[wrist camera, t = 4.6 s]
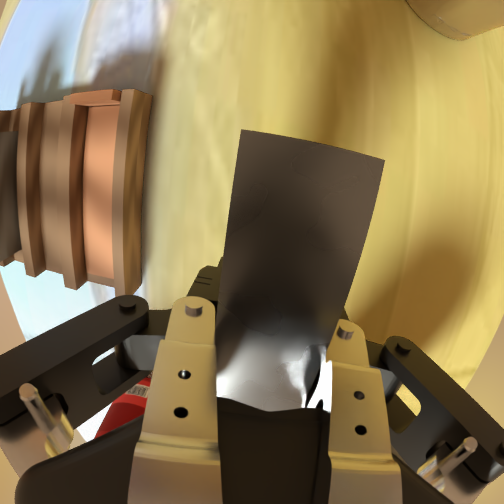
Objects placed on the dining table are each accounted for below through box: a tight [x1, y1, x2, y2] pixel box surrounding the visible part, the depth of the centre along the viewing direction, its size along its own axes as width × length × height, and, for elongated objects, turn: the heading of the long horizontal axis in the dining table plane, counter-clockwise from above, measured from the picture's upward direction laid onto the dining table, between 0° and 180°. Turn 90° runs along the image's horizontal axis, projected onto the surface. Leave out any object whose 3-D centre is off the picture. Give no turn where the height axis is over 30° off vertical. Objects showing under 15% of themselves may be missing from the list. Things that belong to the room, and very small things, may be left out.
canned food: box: [94, 377, 151, 439], centre depth 26 cm, size 8×8×11 cm
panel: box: [215, 129, 385, 411], centre depth 11 cm, size 12×3×8 cm, turn 171°
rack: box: [0, 89, 153, 297], centre depth 18 cm, size 17×18×10 cm
